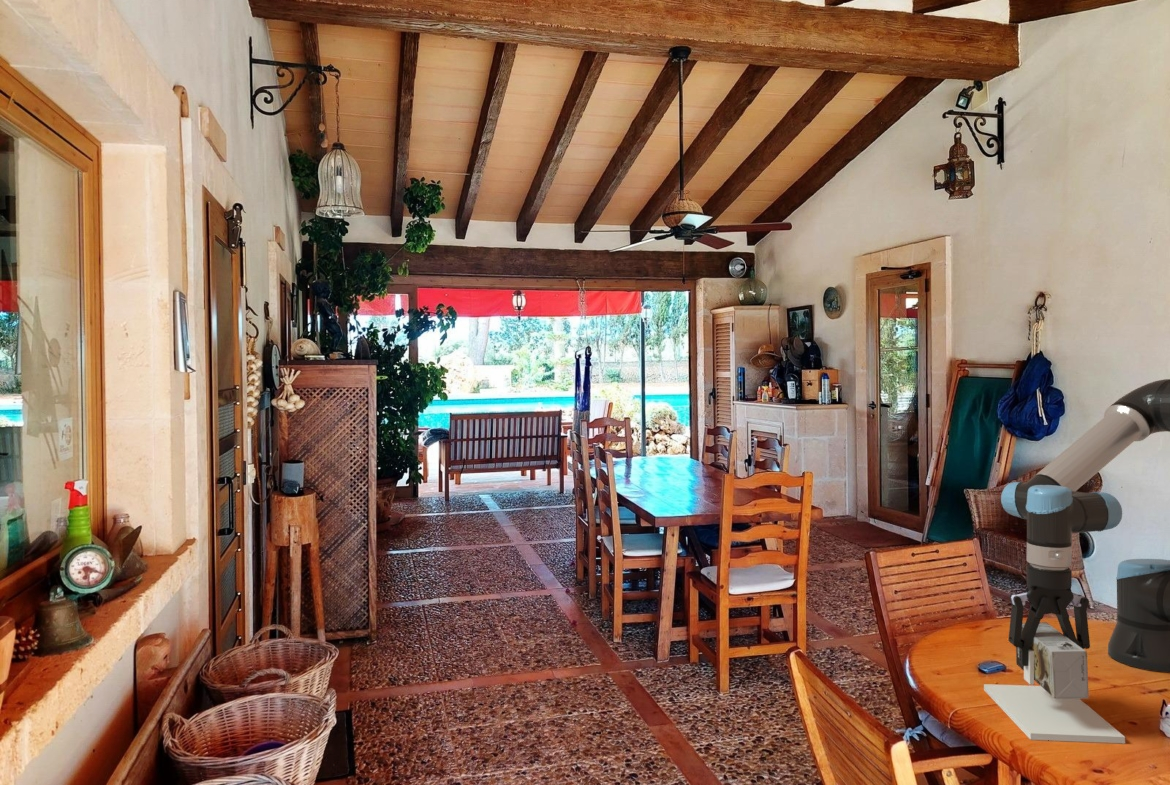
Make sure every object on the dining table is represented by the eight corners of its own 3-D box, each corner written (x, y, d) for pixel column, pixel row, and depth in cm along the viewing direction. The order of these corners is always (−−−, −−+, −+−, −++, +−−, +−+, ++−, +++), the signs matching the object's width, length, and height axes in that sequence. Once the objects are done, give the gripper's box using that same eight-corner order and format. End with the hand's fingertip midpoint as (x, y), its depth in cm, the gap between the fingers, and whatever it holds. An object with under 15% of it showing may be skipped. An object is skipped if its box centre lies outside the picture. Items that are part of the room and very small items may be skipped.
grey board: (1064, 692, 160) (1064, 686, 160) (1125, 743, 138) (1125, 737, 138) (983, 689, 162) (983, 684, 162) (1030, 739, 141) (1030, 733, 140)
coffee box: (1052, 699, 142) (1015, 666, 158) (1090, 699, 141) (1049, 665, 157) (1050, 650, 142) (1013, 622, 158) (1087, 649, 141) (1047, 621, 157)
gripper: (1003, 569, 147) (1003, 688, 148) (1113, 571, 145) (1112, 692, 145) (988, 559, 155) (988, 673, 155) (1092, 561, 152) (1092, 676, 153)
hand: (1048, 682), depth 150 cm, fingers closed on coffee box, 6 cm apart
